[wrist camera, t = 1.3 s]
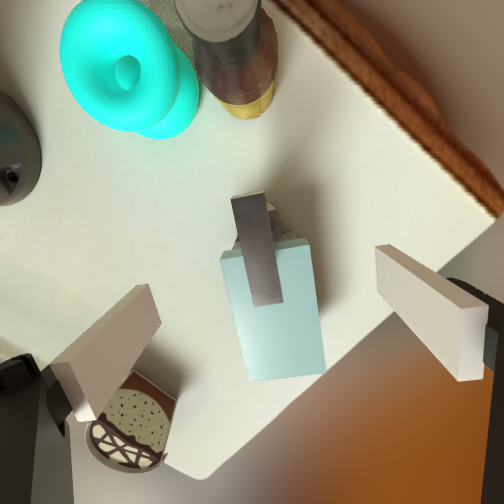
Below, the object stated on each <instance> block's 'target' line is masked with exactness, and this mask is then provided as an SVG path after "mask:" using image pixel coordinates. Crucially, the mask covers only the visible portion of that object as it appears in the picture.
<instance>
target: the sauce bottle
mask: <svg viewBox="0 0 504 504" xmlns="http://www.w3.org/2000/svg"><path fill="white" fill-rule="evenodd" d="M174 3H175V8H176V11H177V14H178V16H179V18H180V20H181V21H182V23H183V25H184V27H185V28H186V30H187V32H188V34H189V35H190V37H191V38H192V39H193V57H194V62H195V66H196V69H197V72H198V74H199V76H200V78H201V80H202V82H203V83H204V85H205V86H206V87H207V89H208V90H209V91H210V92H211V93H212V94H213V95H214V96H215V97H216V99H217V100H218V101H219V102H220V103H221V104H222V106H223V107H224V108H225V109H226V110H227V111H228V112H229V113H230V114H232V115H233V116H235V117H237V118H240V119H252V118H256V117H258V116H260V115H261V114H262V113H263V112H264V111H265V110H266V109H267V108H268V107H269V105H270V103H271V101H272V98H273V96H274V91H275V84H276V74H277V65H278V50H277V48H278V44H277V36H276V32H275V27H274V24H273V21H272V19H271V18H270V17H269V16H268V15H267V14H266V12H265V10H264V9H263V8H262V7H261V0H174Z"/></svg>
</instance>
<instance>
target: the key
mask: <svg viewBox="0 0 504 504" xmlns="http://www.w3.org/2000/svg"><path fill="white" fill-rule="evenodd" d="M231 204H232V209H233V213H234V218H235V223H236V227H237V232H238V237H239V241H240V246H241V250H242V255H243V260H244V264H245V269H246V274H247V278H248V283H249V287H250V292H251V297H252V301H253V306H254V307H259V306H265V305H272V304H279V303H284V301H283V295H282V288H281V283H280V277H279V271H278V266H277V260H276V254H275V248H274V243H273V237H272V231H271V226H270V220H269V214H268V209H267V203H266V197H265V192H264V190H263V191H258V192H253V193H248V194H242V195H237V196H233V197H232V198H231Z"/></svg>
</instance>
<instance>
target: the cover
mask: <svg viewBox="0 0 504 504" xmlns="http://www.w3.org/2000/svg"><path fill="white" fill-rule="evenodd" d="M274 248H275V254H276V260H277V266H278V271H279V277H280V283H281V288H282V295H283V301H284V303H279V304H272V305H265V306H259V307H254V306H253V301H252V297H251V292H250V287H249V283H248V278H247V274H246V269H245V264H244V260H243V255H242V250H241V248H240V249H235V250H229V251H224V252H223V254H222V256H221V258H220V264H221V268H222V272H223V276H224V280H225V284H226V288H227V292H228V296H229V300H230V304H231V309H232V313H233V317H234V321H235V325H236V329H237V333H238V337H239V341H240V345H241V349H242V353H243V357H244V362H245V366H246V370H247V374H248V378H249V382H256V381H264V380H273V379H281V378H289V377H297V376H306V375H314V374H322V373H326V365H325V357H324V350H323V342H322V335H321V327H320V320H319V312H318V305H317V297H316V290H315V282H314V275H313V267H312V260H311V252H310V245H309V243H308V241H307V240H306V238H305V237H304V238H298V239H292V240H286V241H281V242H275V243H274Z"/></svg>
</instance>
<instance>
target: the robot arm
mask: <svg viewBox="0 0 504 504" xmlns="http://www.w3.org/2000/svg"><path fill="white" fill-rule="evenodd" d="M40 167H41V156H40V149H39V144H38V141H37V138H36V135H35V132H34V130H33V128H32V126H31V124H30V122H29V120H28V119H27V117H26V116H25V114H24V113H23V112H22V110H21V109H20V108H19V107H18V105H17V104H16V103H15V102H14V101H13V100H12V99H11V98H10V97H9V96H7V95H6V94H5V93H4V92H2V91H1V90H0V206H6V205H11V204H14V203H17V202H19V201H21V200H22V199H24V198H25V197H26V196H28V195H29V194H30V192H31V191H32V190H33V188H34V187H35V185H36V183H37V180H38V177H39V174H40ZM375 256H376V273H377V291H378V293H379V294H380V295H381V296H382V297H383V299H384V300H385V301H386V302H387V303H388V304H389V305H390V306H391V307H392V309H393V310H394V311H395V312H396V313H397V314H398V315H399V316H400V317H401V318H402V320H403V321H404V322H405V323H406V324H407V325H408V326H409V327H410V329H411V330H412V331H413V332H414V333H415V334H416V335H417V336H418V337H419V338H420V340H421V341H422V342H423V343H424V344H425V345H426V346H427V347H428V349H429V350H430V351H431V352H432V353H433V354H434V355H435V356H436V357H437V359H438V360H439V361H440V362H441V363H442V364H443V365H444V366H445V367H446V368H447V370H448V371H449V372H450V373H451V374H452V375H453V376H454V377H455V379H456V380H457V381H467V380H476V379H483V370H484V364H486V365H487V366H488V367H489V368H490V369H491V370H492V371H493V372H494V380H493V390H492V400H491V409H490V419H489V428H488V438H487V448H486V457H485V468H484V477H483V487H482V497H481V504H504V304H503V303H501V302H500V301H498V300H496V299H494V298H493V297H491V296H489V295H487V294H484V292H482V291H480V290H479V289H476V288H475V287H473V286H472V285H470V284H468V283H466V282H464V281H461V280H458V279H454V278H444V277H442V276H440V275H439V274H437V273H435V272H434V271H432V270H431V269H429V268H427V267H426V266H424V265H422V264H421V263H419V262H418V261H416V260H414V259H413V258H411V257H410V256H408V255H406V254H405V253H403V252H401V251H400V250H398V249H397V248H395V247H393V246H392V245H390V244H388V245H382V246H375ZM161 324H162V323H161V320H160V317H159V314H158V311H157V308H156V305H155V302H154V299H153V296H152V293H151V290H150V287H149V284H143V285H136V286H135V287H134V288H133V289H132V290H131V291H130V292H129V293H127V294H126V295H125V296H124V297H123V298H122V299H121V300H120V301H119V302H118V303H116V304H115V305H114V306H113V307H112V308H111V309H110V310H109V311H108V312H106V313H105V314H104V315H103V316H102V317H101V318H100V319H99V320H98V321H96V322H95V323H94V324H93V325H92V326H91V327H90V328H89V329H88V330H86V331H85V332H84V333H83V334H82V335H81V336H80V337H79V338H78V339H76V340H75V341H74V342H73V343H72V344H71V345H70V346H69V347H68V348H66V349H65V350H64V351H63V352H62V353H61V354H60V355H59V356H58V357H56V358H55V359H54V360H53V361H52V362H51V363H50V364H49V365H48V366H47V367H45V368H44V369H43V370H42V371H41V372H40V370H39V368H38V366H37V364H36V362H35V360H34V358H33V356H32V355H31V354H22V355H18V356H16V357H13V358H11V359H9V360H7V361H4V362H3V363H1V364H0V504H74V497H73V481H72V465H71V448H70V432H69V425H68V423H67V421H66V417H67V416H68V415H69V414H70V412H71V411H72V410H73V412H74V414H75V416H76V418H77V420H78V422H82V421H91V420H97V418H98V417H99V415H100V414H101V413H102V411H103V410H104V408H105V407H106V405H107V404H108V402H109V401H110V399H111V398H112V396H113V395H114V393H115V392H116V390H117V389H118V387H119V386H120V384H121V383H122V381H123V380H124V378H125V377H126V375H127V374H128V372H129V371H130V370H131V368H132V367H133V365H134V364H135V362H136V361H137V359H138V358H139V356H140V355H141V353H142V352H143V350H144V349H145V347H146V346H147V344H148V343H149V341H150V340H151V338H152V337H153V335H154V334H155V332H156V331H157V330H158V328H159V327H160V325H161Z"/></svg>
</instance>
